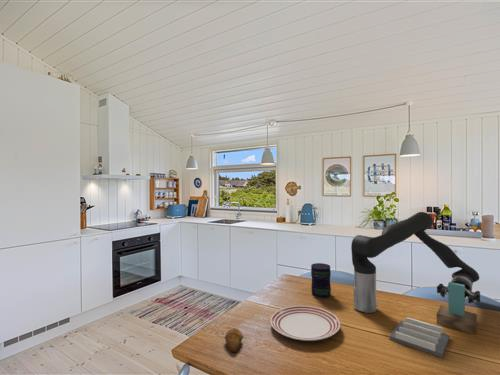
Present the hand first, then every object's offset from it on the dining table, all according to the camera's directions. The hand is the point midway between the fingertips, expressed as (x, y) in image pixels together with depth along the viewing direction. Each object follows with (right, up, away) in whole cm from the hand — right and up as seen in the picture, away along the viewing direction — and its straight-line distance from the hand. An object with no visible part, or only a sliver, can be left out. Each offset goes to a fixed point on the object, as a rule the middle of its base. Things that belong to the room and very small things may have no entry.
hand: (455, 297), depth 108 cm
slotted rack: (-20, -11, -9) cm, 25 cm away
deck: (+1, -11, +1) cm, 11 cm away
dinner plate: (-60, -13, +1) cm, 62 cm away
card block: (+1, -7, +1) cm, 7 cm away
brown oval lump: (-88, -13, -9) cm, 90 cm away
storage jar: (-45, -12, +32) cm, 57 cm away
